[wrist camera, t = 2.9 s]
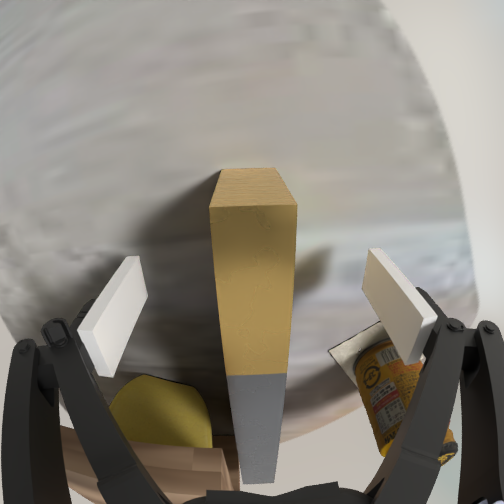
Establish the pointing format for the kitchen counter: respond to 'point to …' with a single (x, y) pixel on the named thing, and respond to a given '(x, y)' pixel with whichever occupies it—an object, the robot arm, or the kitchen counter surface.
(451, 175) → the kitchen counter surface
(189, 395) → the flower pot
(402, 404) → the condiment
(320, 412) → the kitchen counter surface
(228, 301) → the two-tone wooden bar
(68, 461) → the small brown wooden table
